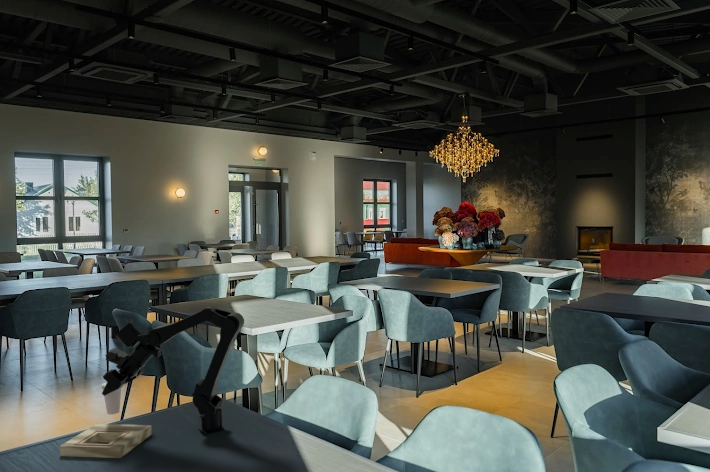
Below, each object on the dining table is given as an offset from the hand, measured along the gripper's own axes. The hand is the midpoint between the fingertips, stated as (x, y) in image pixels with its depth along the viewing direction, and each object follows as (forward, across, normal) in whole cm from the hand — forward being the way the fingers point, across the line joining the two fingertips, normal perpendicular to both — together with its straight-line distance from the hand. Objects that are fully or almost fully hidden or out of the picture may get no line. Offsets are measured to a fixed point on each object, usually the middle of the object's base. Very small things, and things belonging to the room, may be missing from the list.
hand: (108, 391), depth 194 cm
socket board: (+5, +13, +13) cm, 19 cm away
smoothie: (+4, 0, +6) cm, 7 cm away
